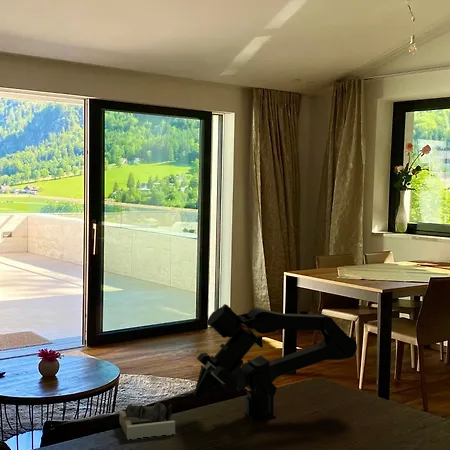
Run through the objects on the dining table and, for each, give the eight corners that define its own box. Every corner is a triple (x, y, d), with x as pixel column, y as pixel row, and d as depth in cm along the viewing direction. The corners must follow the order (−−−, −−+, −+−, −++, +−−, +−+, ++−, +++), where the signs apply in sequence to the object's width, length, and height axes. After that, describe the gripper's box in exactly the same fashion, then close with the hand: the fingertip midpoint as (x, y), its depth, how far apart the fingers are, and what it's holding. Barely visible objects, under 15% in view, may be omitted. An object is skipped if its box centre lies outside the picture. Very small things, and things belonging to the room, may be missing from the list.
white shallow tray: (163, 417, 170) (163, 406, 170) (175, 434, 158) (175, 422, 158) (119, 422, 166) (119, 410, 166) (127, 440, 155) (127, 427, 154)
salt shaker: (172, 413, 161) (123, 408, 158) (167, 432, 163) (119, 427, 160) (171, 398, 166) (123, 393, 163) (166, 416, 168) (119, 411, 165)
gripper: (270, 378, 162) (228, 428, 159) (244, 360, 179) (207, 405, 177) (239, 349, 159) (196, 400, 156) (216, 334, 177) (177, 379, 174)
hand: (195, 396), depth 166 cm, fingers closed
